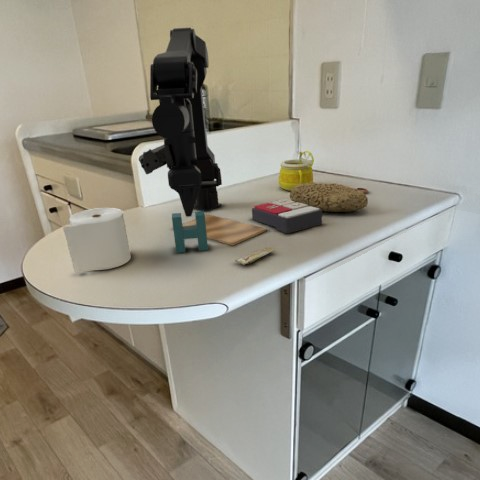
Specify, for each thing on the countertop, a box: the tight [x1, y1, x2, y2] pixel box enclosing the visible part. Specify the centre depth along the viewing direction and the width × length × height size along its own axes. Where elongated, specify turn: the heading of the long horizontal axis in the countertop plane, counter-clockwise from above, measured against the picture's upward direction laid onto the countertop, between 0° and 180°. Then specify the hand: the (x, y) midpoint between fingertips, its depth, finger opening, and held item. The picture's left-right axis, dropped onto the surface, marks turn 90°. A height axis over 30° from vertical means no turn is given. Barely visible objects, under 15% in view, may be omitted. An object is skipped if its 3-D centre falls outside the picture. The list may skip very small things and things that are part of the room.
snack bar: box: [234, 247, 276, 266], centre depth 91 cm, size 10×2×3 cm
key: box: [356, 187, 369, 194], centre depth 127 cm, size 6×1×15 cm
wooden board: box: [182, 214, 267, 246], centre depth 108 cm, size 20×12×1 cm, turn 48°
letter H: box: [171, 210, 209, 254], centre depth 96 cm, size 3×7×8 cm, turn 98°
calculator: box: [251, 198, 323, 234], centre depth 110 cm, size 11×4×15 cm
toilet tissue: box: [62, 207, 132, 273], centre depth 91 cm, size 11×12×10 cm
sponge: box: [289, 181, 369, 213], centre depth 117 cm, size 13×8×20 cm
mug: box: [278, 150, 314, 192], centre depth 136 cm, size 13×11×12 cm
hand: (187, 209), depth 94 cm, fingers open, 9 cm apart
